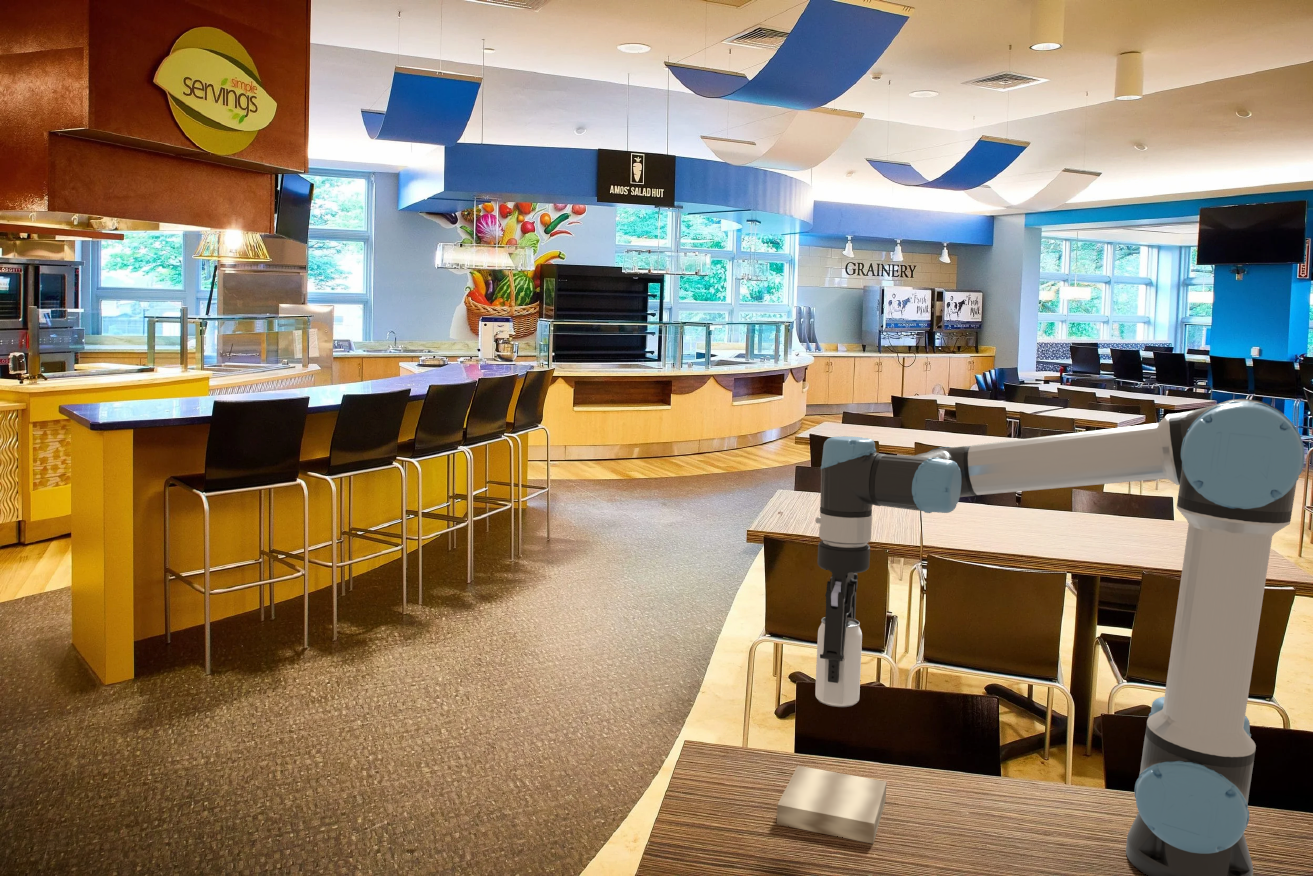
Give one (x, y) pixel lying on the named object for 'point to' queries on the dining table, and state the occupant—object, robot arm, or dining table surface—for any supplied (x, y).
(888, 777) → the dining table surface
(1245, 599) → the robot arm
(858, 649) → the can
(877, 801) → the riser
